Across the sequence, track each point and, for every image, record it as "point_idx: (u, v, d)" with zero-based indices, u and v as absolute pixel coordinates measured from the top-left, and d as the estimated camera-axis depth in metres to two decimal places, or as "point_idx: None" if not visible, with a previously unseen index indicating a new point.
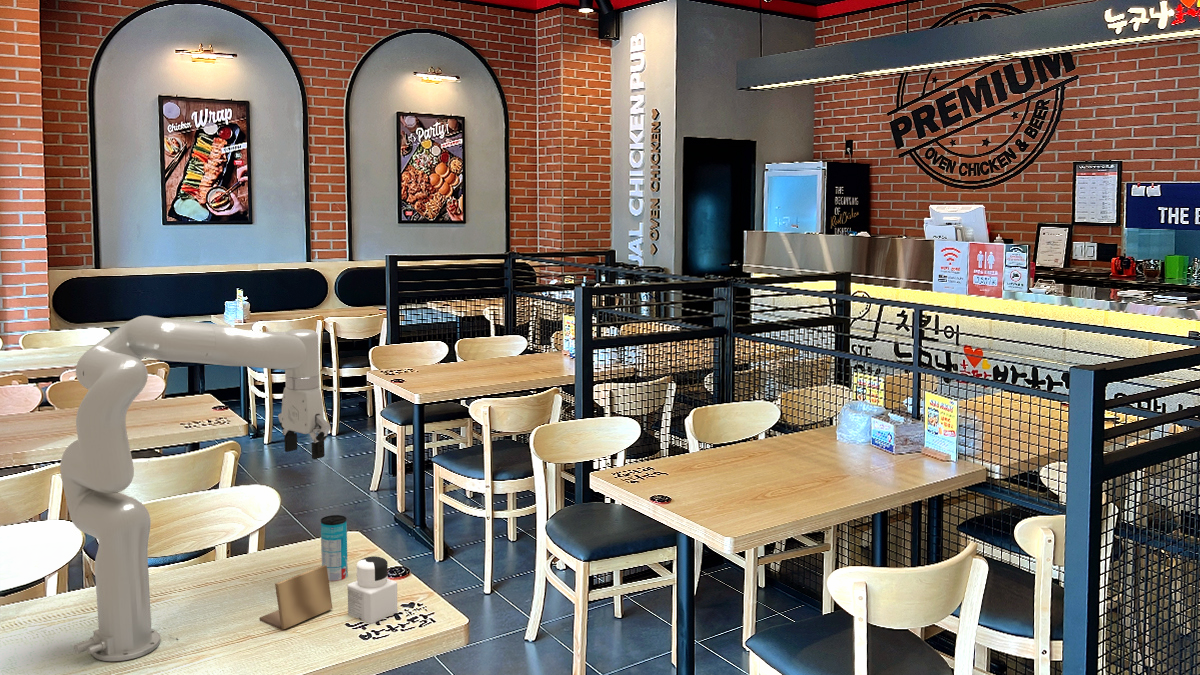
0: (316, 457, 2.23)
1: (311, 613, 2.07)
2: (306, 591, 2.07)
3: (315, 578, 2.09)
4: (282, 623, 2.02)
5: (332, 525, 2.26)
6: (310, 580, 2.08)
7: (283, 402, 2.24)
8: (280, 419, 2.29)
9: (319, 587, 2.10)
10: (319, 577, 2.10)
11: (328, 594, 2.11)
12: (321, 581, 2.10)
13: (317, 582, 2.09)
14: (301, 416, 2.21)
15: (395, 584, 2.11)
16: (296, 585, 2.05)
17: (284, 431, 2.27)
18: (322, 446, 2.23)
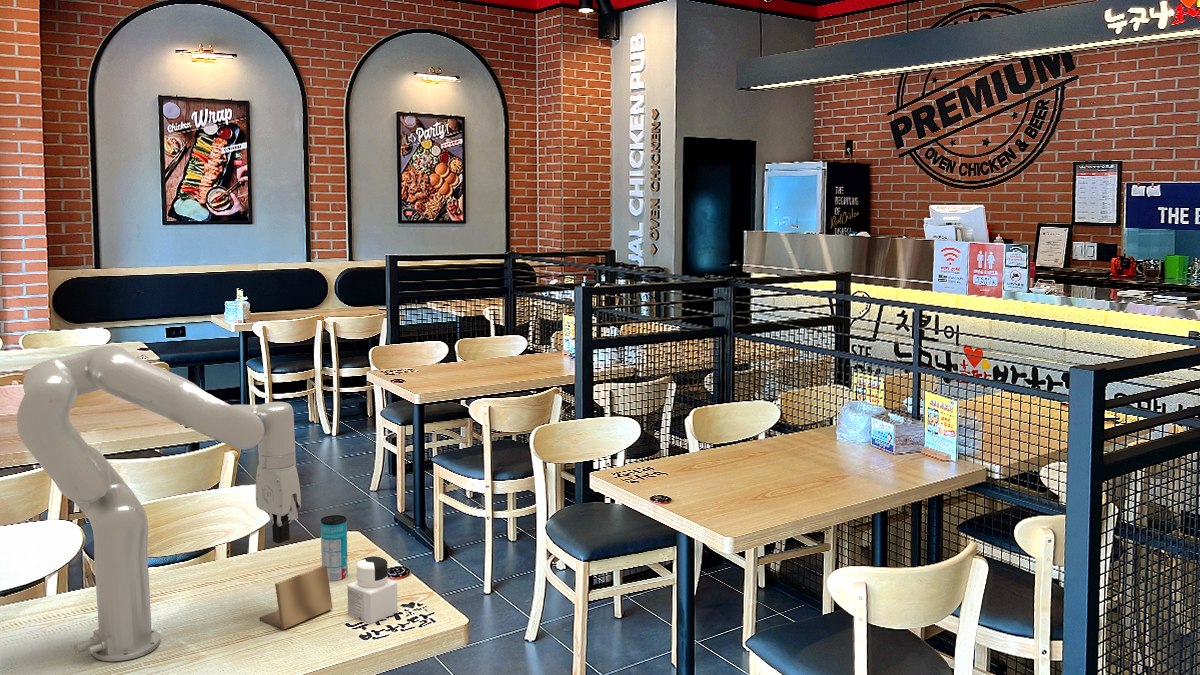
0: (280, 541, 2.09)
1: (311, 613, 2.07)
2: (306, 591, 2.07)
3: (315, 578, 2.09)
4: (282, 623, 2.02)
5: (332, 525, 2.26)
6: (310, 580, 2.08)
7: (257, 481, 2.08)
8: None
9: (319, 587, 2.10)
10: (319, 577, 2.10)
11: (328, 594, 2.11)
12: (321, 581, 2.10)
13: (317, 582, 2.09)
14: (276, 497, 2.04)
15: (395, 584, 2.11)
16: (296, 585, 2.05)
17: (271, 520, 2.09)
18: (287, 529, 2.09)
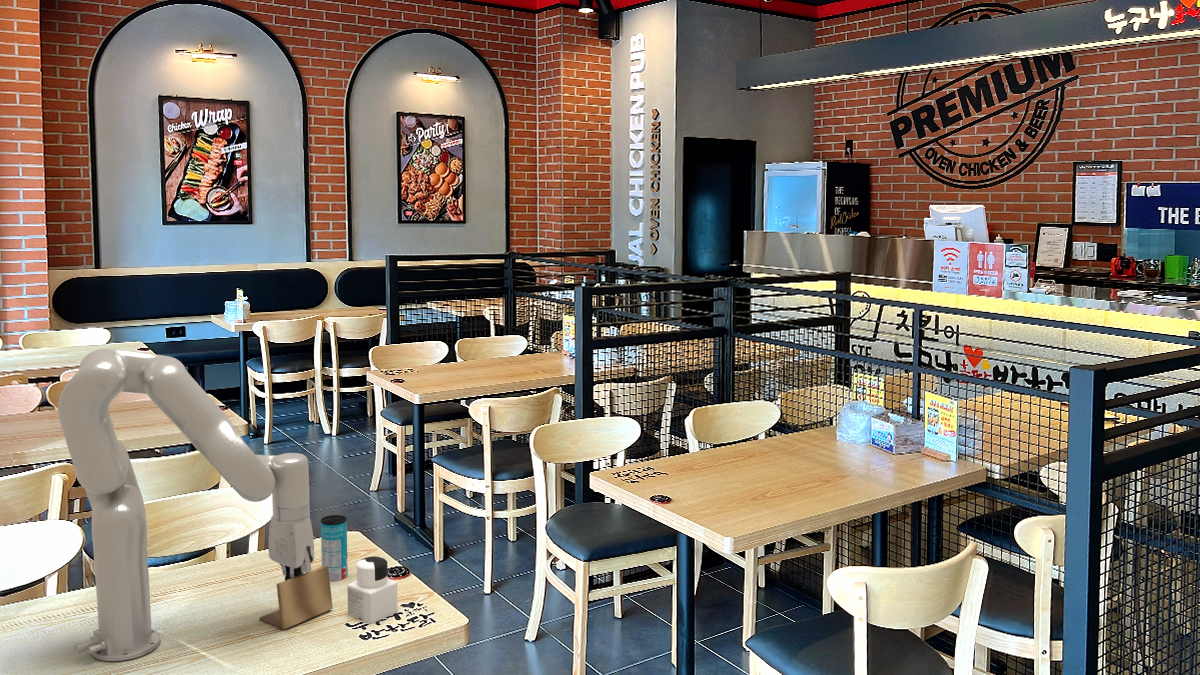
0: None
1: (311, 613, 2.07)
2: (307, 591, 2.07)
3: (316, 578, 2.09)
4: (282, 623, 2.02)
5: (332, 525, 2.26)
6: (311, 580, 2.07)
7: (270, 532, 2.07)
8: None
9: (320, 587, 2.09)
10: (320, 577, 2.09)
11: (329, 594, 2.11)
12: (322, 581, 2.10)
13: (318, 582, 2.09)
14: (290, 549, 2.03)
15: (395, 584, 2.11)
16: (297, 585, 2.05)
17: (284, 571, 2.08)
18: None
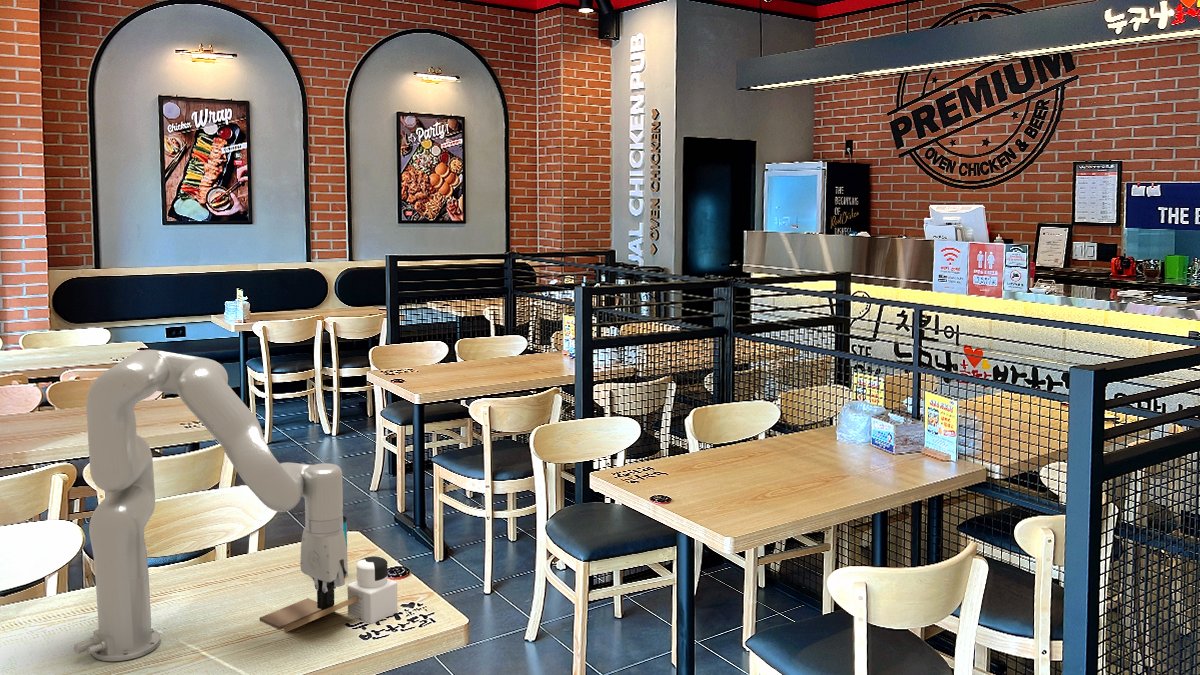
0: (325, 607, 2.02)
1: (314, 619, 2.07)
2: None
3: None
4: (287, 629, 2.01)
5: None
6: None
7: (302, 544, 2.01)
8: None
9: None
10: None
11: None
12: None
13: None
14: (323, 563, 1.97)
15: (395, 584, 2.11)
16: None
17: (316, 585, 2.02)
18: (332, 595, 2.02)
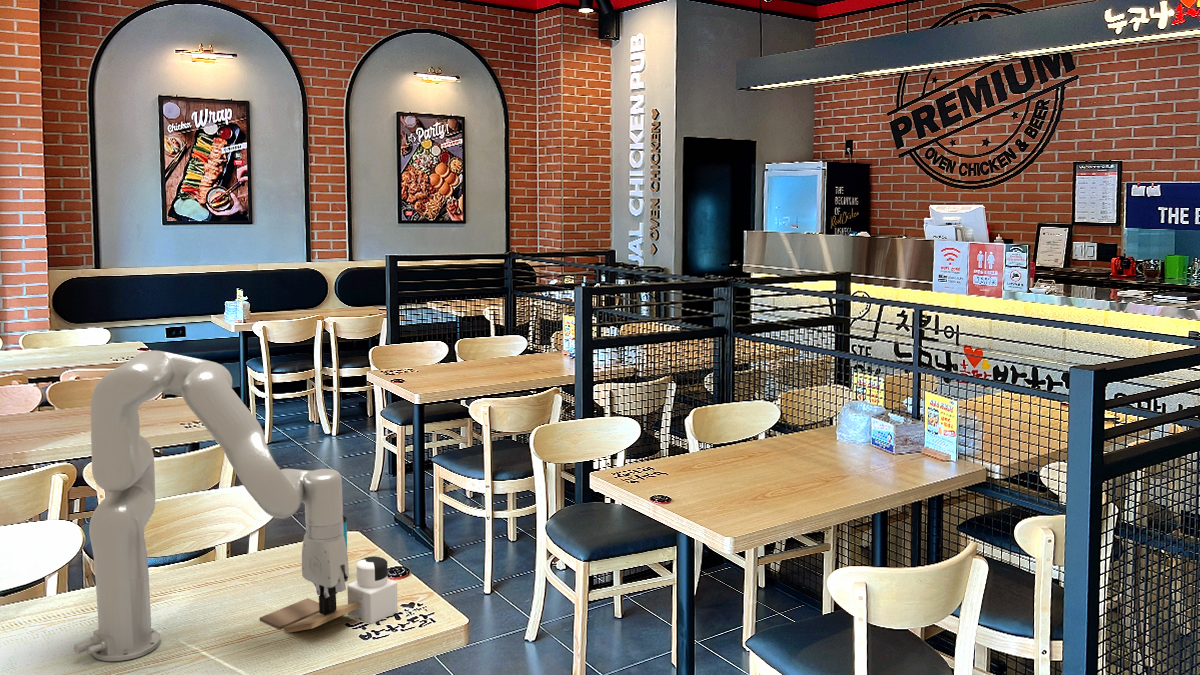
0: (327, 613, 2.02)
1: None
2: None
3: None
4: (287, 630, 2.01)
5: None
6: None
7: (303, 550, 2.01)
8: None
9: None
10: None
11: None
12: None
13: None
14: (324, 568, 1.98)
15: (395, 584, 2.11)
16: None
17: (318, 591, 2.02)
18: (334, 600, 2.02)
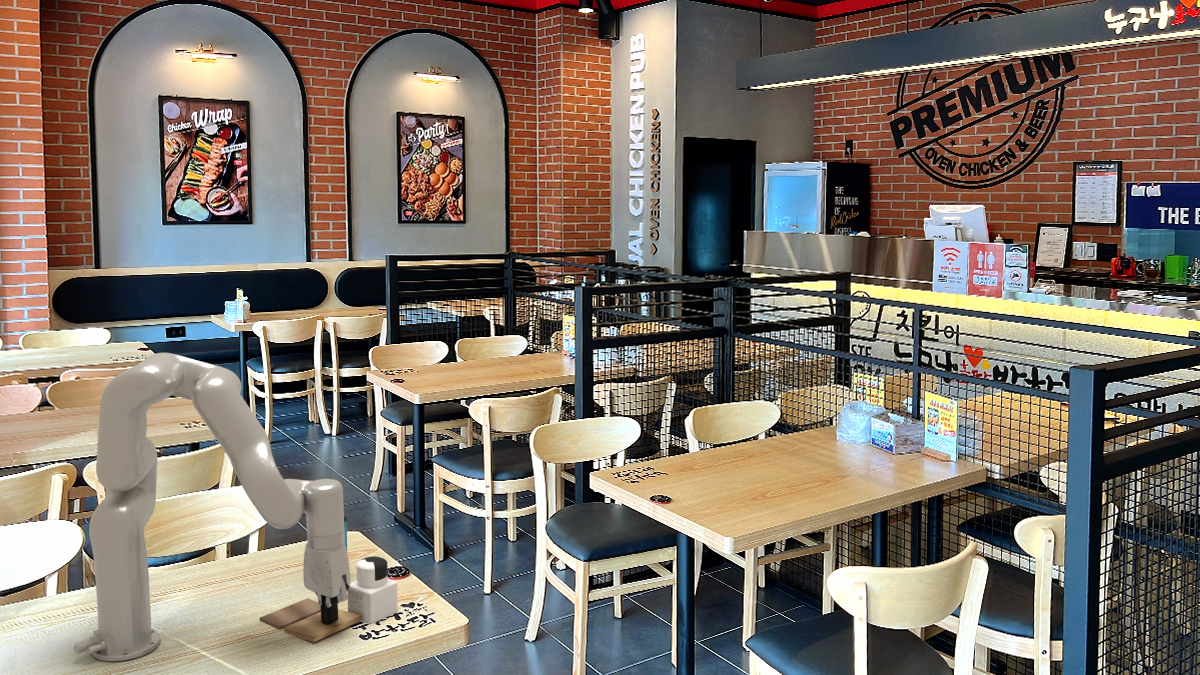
0: (329, 622, 2.03)
1: None
2: None
3: None
4: (287, 632, 2.01)
5: None
6: None
7: (305, 560, 2.02)
8: None
9: None
10: None
11: None
12: None
13: None
14: (325, 578, 1.98)
15: (395, 584, 2.11)
16: None
17: (319, 600, 2.03)
18: (335, 610, 2.03)
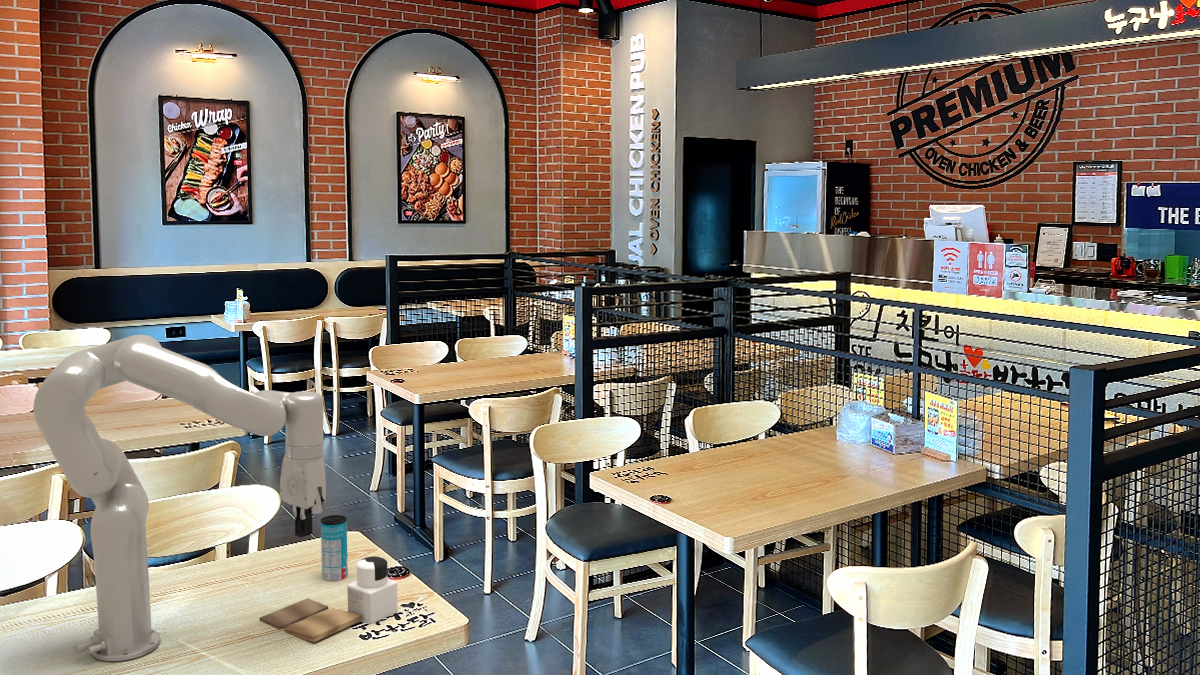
0: (302, 535, 2.03)
1: None
2: None
3: None
4: (287, 632, 2.01)
5: (332, 525, 2.26)
6: None
7: (282, 471, 2.02)
8: None
9: None
10: None
11: None
12: None
13: None
14: (301, 489, 1.99)
15: (395, 584, 2.11)
16: None
17: (294, 513, 2.03)
18: (310, 523, 2.03)
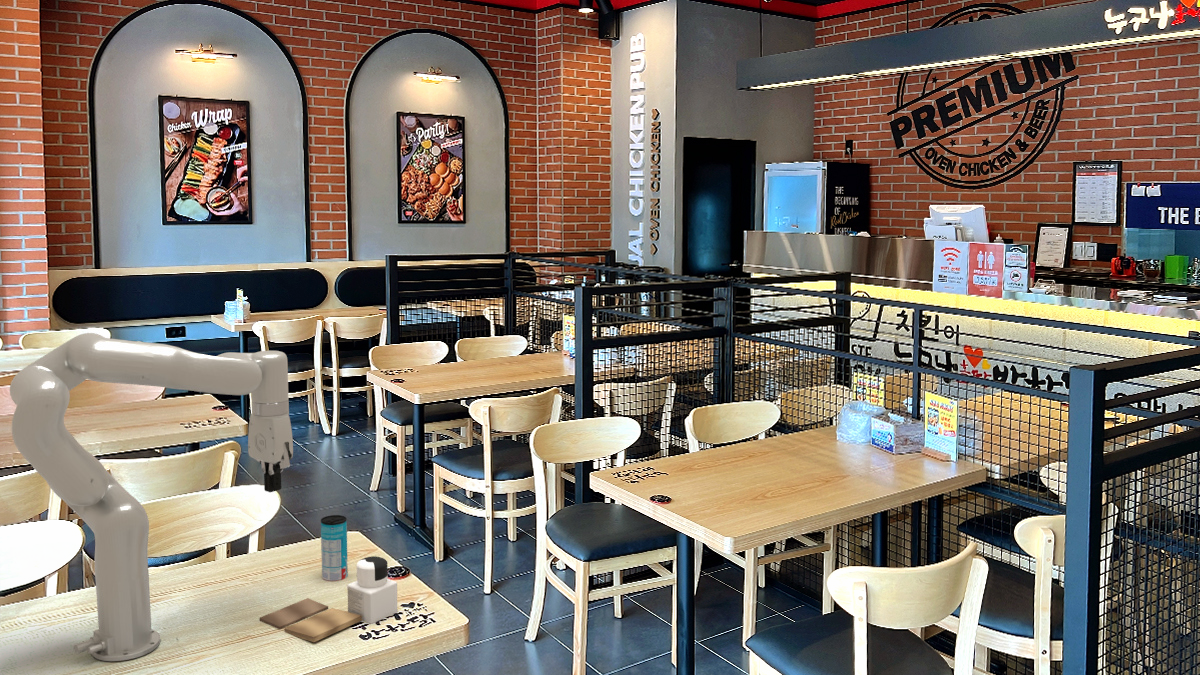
0: (272, 490, 2.10)
1: None
2: None
3: None
4: (287, 632, 2.01)
5: (332, 525, 2.26)
6: None
7: (250, 429, 2.09)
8: None
9: None
10: None
11: None
12: None
13: None
14: (268, 444, 2.05)
15: (395, 584, 2.11)
16: None
17: (263, 469, 2.10)
18: (278, 478, 2.10)
